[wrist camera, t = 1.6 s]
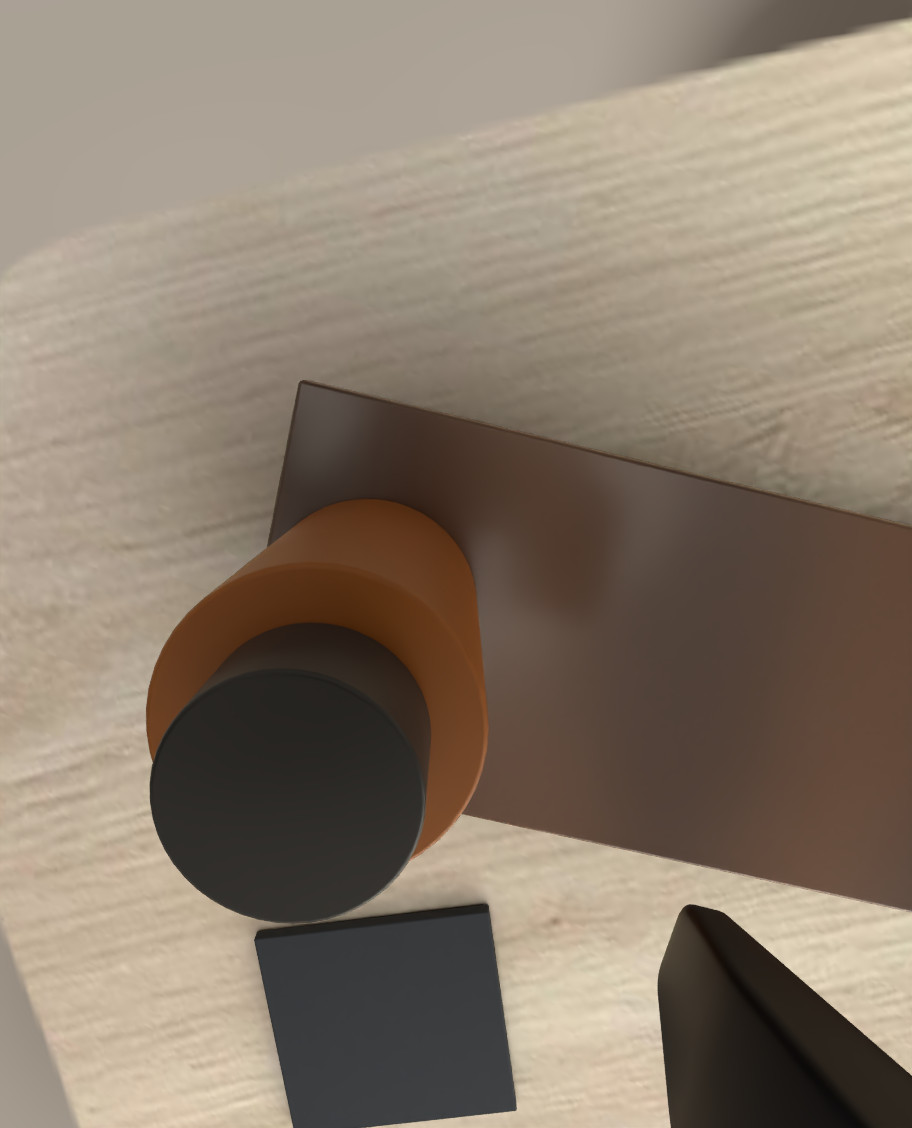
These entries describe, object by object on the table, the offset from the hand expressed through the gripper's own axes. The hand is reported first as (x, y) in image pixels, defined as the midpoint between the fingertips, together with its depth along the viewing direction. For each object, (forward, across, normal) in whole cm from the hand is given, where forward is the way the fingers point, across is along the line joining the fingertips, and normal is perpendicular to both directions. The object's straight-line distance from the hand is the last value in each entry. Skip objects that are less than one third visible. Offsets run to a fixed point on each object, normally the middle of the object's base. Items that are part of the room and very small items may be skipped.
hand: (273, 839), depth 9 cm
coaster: (+14, -3, +14) cm, 20 cm away
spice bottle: (+10, 0, 0) cm, 10 cm away
